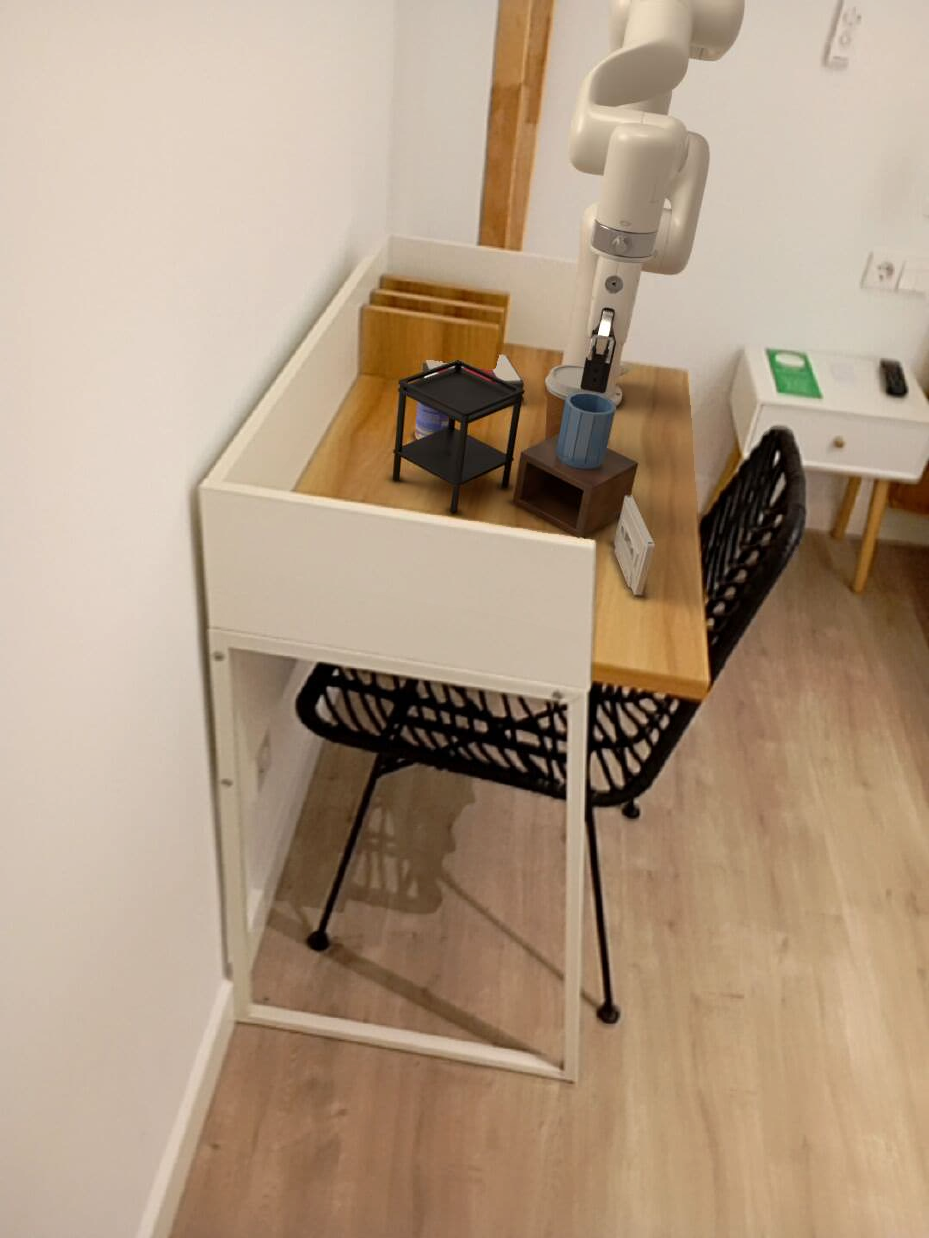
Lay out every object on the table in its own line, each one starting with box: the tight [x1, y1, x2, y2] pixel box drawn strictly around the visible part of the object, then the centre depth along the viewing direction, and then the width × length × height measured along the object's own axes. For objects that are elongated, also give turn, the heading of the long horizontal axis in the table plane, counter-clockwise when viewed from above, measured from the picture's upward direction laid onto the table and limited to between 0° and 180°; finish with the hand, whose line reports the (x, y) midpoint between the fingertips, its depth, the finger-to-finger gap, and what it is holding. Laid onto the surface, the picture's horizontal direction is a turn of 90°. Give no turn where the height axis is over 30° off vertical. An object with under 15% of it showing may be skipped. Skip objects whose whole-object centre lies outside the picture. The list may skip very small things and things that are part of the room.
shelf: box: [512, 434, 639, 539], centre depth 140 cm, size 11×12×8 cm
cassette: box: [613, 495, 655, 596], centre depth 129 cm, size 12×2×8 cm, turn 6°
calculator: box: [420, 354, 525, 392], centre depth 169 cm, size 11×4×15 cm
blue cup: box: [556, 392, 617, 469], centre depth 135 cm, size 7×7×8 cm
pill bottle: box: [414, 373, 449, 440], centre depth 151 cm, size 5×5×10 cm
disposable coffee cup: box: [544, 364, 609, 441], centre depth 153 cm, size 10×10×12 cm
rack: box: [392, 360, 526, 515], centre depth 140 cm, size 12×12×15 cm
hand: (596, 375), depth 130 cm, fingers open, 9 cm apart
